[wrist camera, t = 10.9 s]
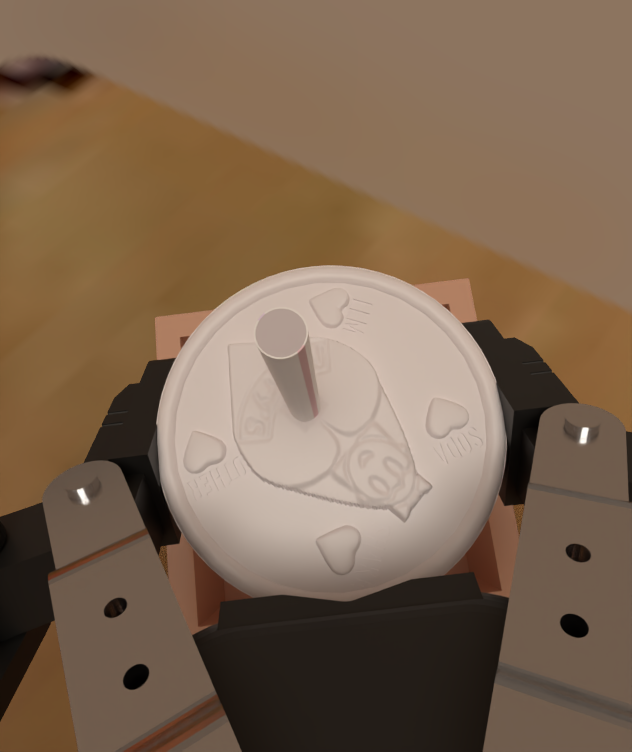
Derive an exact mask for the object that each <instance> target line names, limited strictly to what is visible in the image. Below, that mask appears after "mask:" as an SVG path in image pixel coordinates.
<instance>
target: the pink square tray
mask: <svg viewBox="0 0 632 752" xmlns="http://www.w3.org/2000/svg"><path fill="white" fill-rule="evenodd" d="M412 286H414V287H416V288H418V289H419V290H421V291H423V292H424V293H426V294H427V295H429V296H430V297H432V298H433V299H435V300H436V301H438V302H439V303H440V304H441V305H442V306H444V307H445V308H446V309H447V310H449V311H450V312H451V313H452V314H453V315H454V316H455V317H456V318H457V319H458V320H459V321H460V322H461V323H465V322H473V321H477V318H476V313H475V308H474V303H473V297H472V292H471V287H470V282H469V278H466V279H458V280H450V281H442V282H434V283H426V284H418V285H412ZM212 311H213V310H210V311H202V312H194V313H186V314H178V315H169V316H161V317H155V328H156V348H157V360H161V359H169V358H177V356H178V354H179V352H180V350H181V349H182V347H183V346H184V344H185V343H186V341H187V340H188V338H189V337H190V336H191V334H192V333H193V332H194V331H195V329H196V328H197V327H198V326H199V325H200V323H201V322H202V321H203V320H204V319H205V318H206V317H207V316H208V315H209V314H210V313H211V312H212ZM518 542H519V534H518V528H517V523H516V518H515V513H514V508H513V505H510V506H504V504H503V502H502V500H501V498H500V496H499V494H498V497H497V500H496V503H495V505H494V507H493V510H492V512H491V515H490V517H489V519H488V521H487V522H486V524H485V526H484V528H483V530H482V532H481V533H480V535H479V536H478V538H477V539H476V541H475V542H474V544H473V545H472V546H471V548H470V549H469V550H468V551H467V552H466V554H465V555H464V556H463V557H462V558H461V560H460V561H459V562H458V563H457V564H456V565H454V566H453V567H452V568H451V569H450V570H449V571H448V572H447V573H446V574H445V575H451V574H460V573H468V572H474V574H475V577H476V580H477V583H478V585H479V588H480V591H481V592H484V593H491V594H496V595H500V596H505V597H508V598H509V596H510V590H511V584H512V578H513V572H514V566H515V560H516V554H517V548H518ZM167 560H168V579H169V582H170V585H171V587H172V589H173V592H174V594H175V597H176V599H177V601H178V604H179V606H180V608H181V611H182V613H183V615H184V618H185V620H186V623H187V625H188V627H189V630H190V632H191V634H192V635H193V634H195V633H197V632H199V631H201V630H203V629H205V628H207V627H209V626H212V625H214V624H217V623H218V620H219V611H220V602H223V601H231V600H240V599H248V598H253V597H251V596H249V595H247V594H245V593H244V592H242V591H240V590H238V589H237V588H235V587H234V586H232V585H231V584H230V583H228V582H227V581H225V580H224V579H223V578H221V577H220V576H219V575H218V574H217V573H216V572H214V571H213V570H212V569H211V568H210V567H209V566H208V565H207V564H206V563H205V562H204V561H203V560H202V559H201V558H200V557H199V556H198V554H197V553H196V552H195V551H194V549H193V548H192V547H191V545H190V544H189V543H188V542H187V540H186V539H185V537H184V535H183V534H182V533H181V538H180V543H179V544H174V545H167Z"/></svg>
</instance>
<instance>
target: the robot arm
mask: <svg viewBox="0 0 632 752" xmlns="http://www.w3.org/2000/svg"><path fill="white" fill-rule="evenodd" d="M461 324H462V325H463V326H464V327H465V328H466V329H467V331H468V332H469V333H470V334H471V336H472V337H473V338H474V340H475V341H476V343H477V344H478V346H479V347H480V349H481V350H482V352H483V354H484V356H485V358H486V359H487V361H488V363H489V365H490V368H491V370H492V372H493V374H494V377H495V379H496V385H497V389H498V393H499V397H500V402H501V406H502V411H503V417H504V424H505V431H506V436H507V450H506V462H505V469H504V474H503V479H502V484H501V487H500V490H499V496H500V498H501V500H502V502H503V504H504V506H510V505H518V504H524V512H523V518H522V524H521V530H520V536H519V542H518V548H517V554H516V560H515V566H514V572H513V578H512V584H511V590H510V596H509V598H508V597H505V596H500V595H496V594H491V593H484V592H481V591H480V588H479V585H478V583H477V580H476V577H475V574H474V572H468V573H460V574H451V575H443V576H434V577H426V578H418V579H410V580H408V581H405V582H402V583H400V584H397V585H394V586H391V587H389V588H386V589H383V590H380V591H378V592H375V593H372V594H369V595H367V596H364V597H361V598H358V599H356V600H352V601H335V600H326V599H317V598H309V597H300V596H291V595H283V594H282V595H274V596H265V597H257V598H248V599H240V600H231V601H223V602H220V611H219V620H218V623H217V624H214V625H212V626H209V627H207V628H205V629H203V630H201V631H199V632H197V633H195V634H193V635H192V634H191V632H190V630H189V627H188V625H187V623H186V620H185V618H184V615H183V613H182V611H181V608H180V606H179V604H178V601H177V599H176V597H175V594H174V592H173V589H172V587H171V585H170V582H169V580H168V578H167V575H166V573H165V571H164V568H163V566H162V563H161V561H160V559H159V556H158V555H159V551H160V547H161V546H166V545H174V544H179V543H180V538H181V533H182V532H181V531H180V529H179V527H178V526H177V524H176V522H175V520H174V518H173V516H172V514H171V512H170V509H169V507H168V504H167V501H166V499H165V496H164V493H163V489H162V486H161V482H160V474H159V461H158V446H157V425H156V422H157V415H158V408H159V404H160V399H161V395H162V391H163V388H164V385H165V382H166V379H167V377H168V374H169V372H170V370H171V368H172V365H173V363H174V361H175V359H176V358H169V359H161V360H153V361H149V362H148V364H147V367H146V369H145V371H144V374H143V376H142V378H141V381H140V383H137V384H129V385H128V386H127V387H126V388H125V389H124V390H123V391H122V392H120V393H119V394H118V395H117V396H116V397H115V398H114V400H113V402H112V404H111V406H110V408H109V410H108V415H106V417H105V419H104V421H103V423H102V427H100V429H99V432H98V434H97V436H96V438H95V440H94V442H93V444H92V446H91V448H90V451H89V453H88V455H87V457H86V459H85V461H84V463H82V464H80V465H77V466H74V467H72V468H70V469H68V470H67V471H65V472H63V473H62V474H60V475H59V476H58V477H56V478H55V479H54V480H53V481H52V482H51V483H50V484H49V485H48V487H47V488H46V490H45V492H44V494H43V498H42V501H43V502H42V503H39V504H36V505H34V506H31V507H28V508H25V509H22V510H19V511H16V512H13V513H10V514H7V515H4V516H2V517H0V721H1V719H2V717H3V715H4V713H5V711H6V709H7V708H8V706H9V704H10V702H11V700H12V698H13V696H14V694H15V692H16V690H17V688H18V686H19V684H20V682H21V680H22V679H23V677H24V675H25V673H26V671H27V669H28V667H29V665H30V663H31V661H32V659H33V657H34V655H35V653H36V651H37V650H38V648H39V646H40V644H41V642H42V640H43V638H44V636H45V634H46V632H47V630H48V628H49V626H50V624H51V622H52V621H54V620H55V623H56V628H57V634H58V640H59V645H60V651H61V656H62V662H63V668H64V673H65V679H66V684H67V690H68V696H69V701H70V707H71V713H72V718H73V724H74V729H75V735H76V741H77V746H78V752H632V432H627V431H626V430H625V427H624V425H623V423H622V422H621V421H620V420H619V419H618V418H617V417H616V416H614V415H613V414H611V413H609V412H607V411H605V410H603V409H601V408H598V407H595V406H591V405H586V404H579V403H578V401H577V400H576V399H575V398H574V397H573V395H572V394H571V393H570V392H569V390H568V389H567V388H566V387H565V386H564V384H563V383H562V382H561V381H560V380H559V378H558V377H557V376H556V375H555V374H554V373H552V370H551V369H550V368H549V366H548V365H547V364H546V363H545V362H544V363H543V359H542V358H541V357H540V355H539V354H538V353H537V352H536V351H535V349H534V348H533V347H531V346H529V345H527V344H526V343H524V342H522V341H520V340H518V339H516V338H507V339H504V338H503V337H502V335H501V334H500V333H499V331H498V330H497V329H496V327H495V326H494V325H493V323H492V322H491V321H490V320H481V321H473V322H465V323H461Z"/></svg>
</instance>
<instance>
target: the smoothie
mask: <svg viewBox="0 0 632 752" xmlns="http://www.w3.org/2000/svg"><path fill="white" fill-rule="evenodd" d="M156 425H157V446H158V461H159V474H160V482H161V486H162V489H163V493H164V496H165V499H166V501H167V504H168V507H169V509H170V512H171V514H172V516H173V518H174V520H175V522H176V524H177V526H178V527H179V529H180V531H181V532H182V534H183V535H184V537H185V539H186V540H187V542H188V543H189V544H190V545H191V547H192V548H193V549H194V551H195V552H196V553H197V554H198V556H199V557H200V558H201V559H202V560H203V561H204V562H205V563H206V564H207V565H208V566H209V567H210V568H211V569H212V570H213V571H214V572H216V573H217V574H218V575H219V576H220V577H221V578H223V579H224V580H225V581H227V582H228V583H230V584H231V585H232V586H234V587H235V588H237V589H238V590H240V591H242V592H244V593H245V594H247V595H249V596H251V597H253V598H257V597H265V596H274V595H282V594H283V595H291V596H300V597H309V598H317V599H326V600H335V601H352V600H356V599H358V598H361V597H364V596H367V595H369V594H372V593H375V592H378V591H380V590H383V589H386V588H389V587H391V586H394V585H397V584H400V583H402V582H405V581H408V580H410V579H418V578H426V577H434V576H443V575H445V574H446V573H447V572H448V571H449V570H450V569H451V568H452V567H453V566H454V565H456V564H457V563H458V562H459V561H460V560H461V558H462V557H463V556H464V555H465V554H466V552H467V551H468V550H469V549H470V548H471V546H472V545H473V544H474V542H475V541H476V539H477V538H478V536H479V535H480V533H481V532H482V530H483V528H484V526H485V524H486V522H487V521H488V519H489V517H490V515H491V512H492V510H493V507H494V505H495V503H496V500H497V497H498V494H499V490H500V487H501V484H502V479H503V474H504V469H505V462H506V450H507V436H506V431H505V424H504V417H503V411H502V406H501V402H500V397H499V393H498V389H497V385H496V379H495V377H494V374H493V372H492V370H491V368H490V365H489V363H488V361H487V359H486V358H485V356H484V354H483V352H482V350H481V349H480V347H479V346H478V344H477V343H476V341H475V340H474V338H473V337H472V336H471V334H470V333H469V332H468V331H467V329H466V328H465V327H464V326H463V325H462V324H461V322H460V321H459V320H458V319H457V318H456V317H455V316H454V315H453V314H452V313H451V312H450V311H449V310H447V309H446V308H445V307H444V306H442V305H441V304H440V303H439V302H438V301H436V300H435V299H433V298H432V297H430V296H429V295H427V294H426V293H424V292H423V291H421V290H419V289H418V288H416V287H414V286H412V285H410V284H409V283H406V282H404V281H402V280H399V279H397V278H395V277H392V276H389V275H386V274H383V273H380V272H376V271H372V270H368V269H363V268H356V267H349V266H331V265H330V266H313V267H305V268H298V269H294V270H290V271H286V272H282V273H279V274H276V275H273V276H270V277H267V278H265V279H262V280H260V281H258V282H256V283H253V284H251V285H250V286H248V287H246V288H244V289H242V290H241V291H239V292H237V293H236V294H234V295H233V296H231V297H230V298H228V299H227V300H226V301H224V302H223V303H222V304H221V305H219V306H218V307H217V308H216V309H215V310H213V311H212V312H211V313H210V314H209V315H208V316H207V317H206V318H205V319H204V320H203V321H202V322H201V323H200V325H199V326H198V327H197V328H196V329H195V331H194V332H193V333H192V334H191V336H190V337H189V338H188V340H187V341H186V343H185V344H184V346H183V347H182V349H181V350H180V352H179V354H178V356H177V358H176V359H175V361H174V363H173V365H172V368H171V370H170V372H169V374H168V377H167V379H166V382H165V385H164V388H163V391H162V395H161V399H160V404H159V408H158V415H157V422H156Z"/></svg>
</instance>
